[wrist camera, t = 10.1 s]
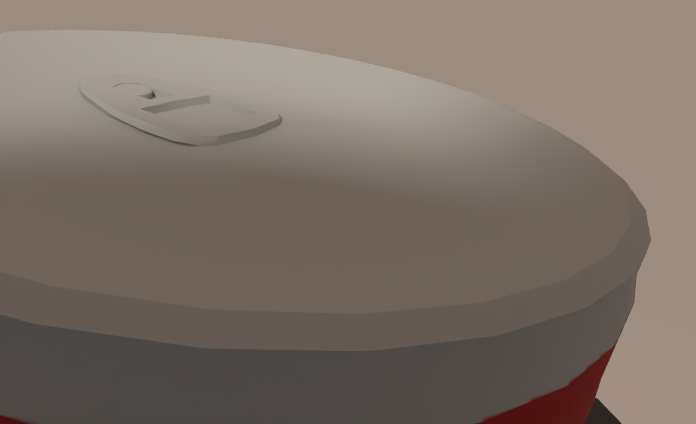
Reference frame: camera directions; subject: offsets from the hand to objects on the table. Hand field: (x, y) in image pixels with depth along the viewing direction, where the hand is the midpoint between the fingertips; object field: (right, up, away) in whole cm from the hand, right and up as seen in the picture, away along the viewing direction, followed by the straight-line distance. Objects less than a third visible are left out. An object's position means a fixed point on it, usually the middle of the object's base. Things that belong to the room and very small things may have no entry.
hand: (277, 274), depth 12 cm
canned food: (-1, -7, -2) cm, 8 cm away
